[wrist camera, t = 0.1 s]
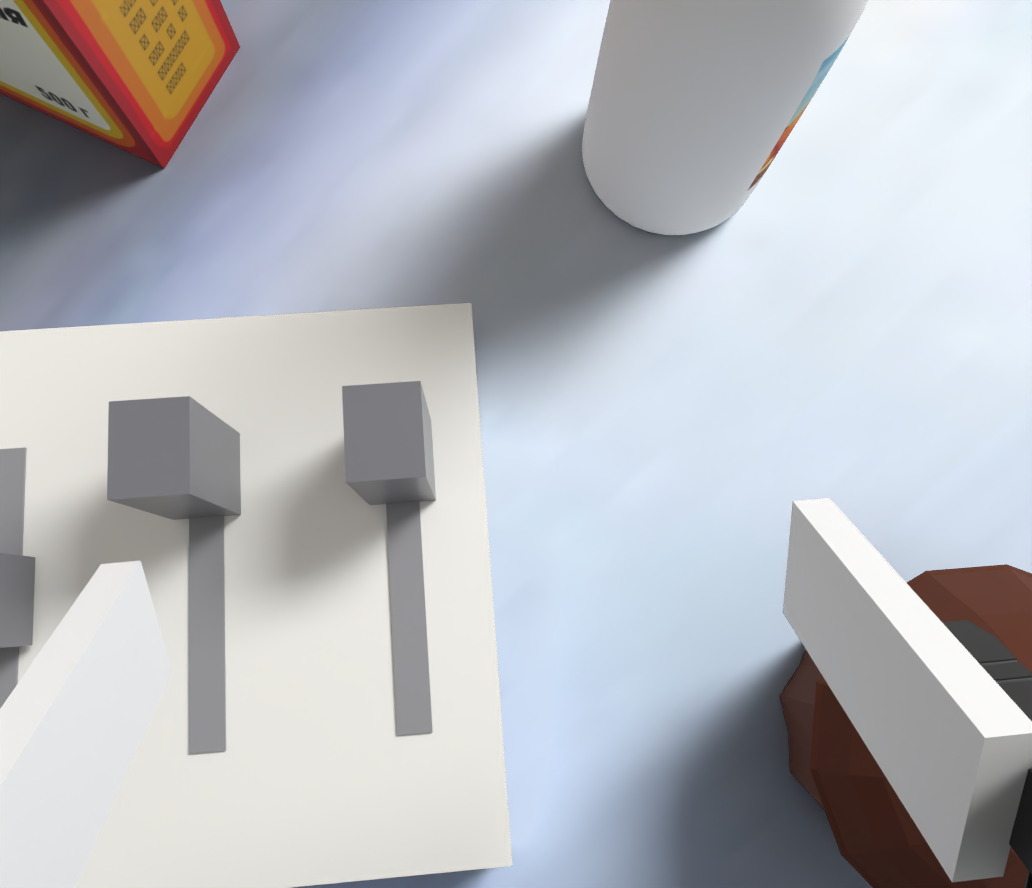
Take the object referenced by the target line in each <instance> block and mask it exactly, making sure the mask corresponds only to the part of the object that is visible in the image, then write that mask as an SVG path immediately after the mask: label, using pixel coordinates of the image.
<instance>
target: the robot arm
mask: <svg viewBox="0 0 1032 888" xmlns="http://www.w3.org/2000/svg"><path fill="white" fill-rule="evenodd" d="M783 613H784V615H785V617H786V618H787V620H788V621H789V623H790V625H791V626H792V628H793V629H794V631H795V633H796V634H797V636H798V637H799V639H800V641H801V642H802V644H803V645H804V647H805V649H806V650H807V652H808V653H809V655H810V657H811V658H812V660H813V661H814V663H815V665H816V666H817V668H818V669H819V671H820V672H821V674H822V676H823V677H824V679H825V680H826V682H827V684H828V685H829V687H830V688H831V690H832V692H833V693H834V695H835V696H836V698H837V700H838V701H839V703H840V704H841V706H842V708H843V709H844V711H845V712H846V714H847V716H848V717H849V719H850V720H851V722H852V724H853V725H854V727H855V728H856V730H857V732H858V733H859V735H860V736H861V738H862V739H863V741H864V743H865V744H866V746H867V747H868V749H869V751H870V752H871V754H872V755H873V757H874V759H875V760H876V762H877V763H878V765H879V767H880V768H881V770H882V771H883V773H884V775H885V776H886V778H887V779H888V781H889V783H890V784H891V786H892V787H893V789H894V791H895V792H896V794H897V795H898V797H899V799H900V800H901V802H902V803H903V805H904V807H905V808H906V810H907V811H908V813H909V814H910V816H911V818H912V819H913V821H914V822H915V824H916V826H917V827H918V829H919V830H920V832H921V834H922V835H923V837H924V838H925V840H926V842H927V843H928V845H929V846H930V848H931V850H932V851H933V853H934V854H935V856H936V858H937V859H938V861H939V862H940V864H941V866H942V867H943V869H944V870H945V872H946V874H947V875H948V877H949V878H950V880H951V881H952V882H960V881H969V880H977V879H986V878H995V877H1003V875H1004V871H1005V867H1006V863H1007V859H1008V856H1009V852H1010V848H1011V847H1012V849H1013V850H1014V851H1015V853H1016V854H1017V856H1018V857H1019V858H1020V860H1021V861H1022V862H1023V864H1024V865H1025V866H1026V868H1027V869H1028V871H1029V872H1028V875H1027V879H1026V883H1025V886H1024V888H1032V673H1031V672H1030V671H1029V670H1028V669H1027V668H1026V667H1025V666H1024V665H1023V664H1022V663H1018V662H1017V658H1016V657H1015V656H1014V655H1013V654H1012V653H1011V652H1010V651H1009V650H1008V649H1007V648H1006V647H1005V646H1004V645H1003V644H1002V643H1001V642H1000V641H999V640H998V639H997V638H996V637H995V636H993V635H991V634H990V633H988V632H986V631H985V630H983V629H981V628H979V627H978V626H976V625H974V624H973V623H971V622H969V621H968V620H961V621H951V622H941V621H940V620H939V618H938V617H937V616H936V615H935V614H934V613H933V612H932V611H931V610H930V609H929V607H928V606H927V605H926V604H925V603H924V602H923V601H922V600H921V599H920V597H919V596H918V595H917V594H916V593H915V592H914V591H913V590H912V589H911V588H910V586H909V585H908V584H907V583H906V582H905V581H904V580H903V579H902V578H901V576H900V575H899V574H898V573H897V572H896V571H895V570H894V569H893V568H892V567H891V565H890V564H889V563H888V562H887V561H886V560H885V559H884V558H883V557H882V555H881V554H880V553H879V552H878V551H877V550H876V549H875V548H874V547H873V546H872V544H871V543H870V542H869V541H868V540H867V539H866V538H865V537H864V536H863V534H862V533H861V532H860V531H859V530H858V529H857V528H856V527H855V526H854V525H853V523H852V522H851V521H850V520H849V519H848V518H847V517H846V516H845V515H844V513H843V512H842V511H841V510H840V509H839V508H838V507H837V506H836V505H835V504H834V502H833V501H832V500H831V499H830V498H822V499H811V500H800V501H793V504H792V516H791V527H790V538H789V549H788V560H787V571H786V582H785V594H784V605H783ZM172 672H173V671H172V668H171V664H170V661H169V657H168V654H167V650H166V647H165V643H164V640H163V637H162V633H161V630H160V626H159V623H158V619H157V616H156V612H155V609H154V605H153V602H152V598H151V595H150V591H149V588H148V584H147V581H146V577H145V574H144V571H143V567H142V564H141V561H130V562H119V563H108V564H101V565H100V566H99V568H98V569H97V571H96V572H95V574H94V575H93V576H92V578H91V579H90V581H89V582H88V584H87V585H86V586H85V588H84V589H83V591H82V592H81V594H80V595H79V596H78V598H77V599H76V601H75V602H74V604H73V605H72V607H71V608H70V609H69V611H68V612H67V614H66V615H65V617H64V618H63V619H62V621H61V622H60V624H59V625H58V627H57V628H56V629H55V631H54V632H53V634H52V635H51V637H50V638H49V640H48V641H47V642H46V644H45V645H44V647H43V648H42V650H41V651H40V652H39V654H38V655H37V657H36V658H35V660H34V661H33V663H32V664H31V665H30V667H29V668H28V670H27V671H26V673H25V674H24V675H23V677H22V678H21V680H20V681H19V683H18V684H17V685H16V687H15V688H14V690H13V691H12V693H11V694H10V696H9V697H8V698H7V700H6V701H5V703H4V704H3V706H2V707H1V708H0V888H75V887H76V885H77V882H78V880H79V878H80V876H81V874H82V871H83V869H84V867H85V865H86V863H87V860H88V858H89V856H90V854H91V851H92V849H93V847H94V845H95V843H96V840H97V838H98V836H99V834H100V832H101V829H102V827H103V825H104V823H105V821H106V818H107V816H108V814H109V812H110V809H111V807H112V805H113V803H114V801H115V798H116V796H117V794H118V792H119V790H120V787H121V785H122V783H123V781H124V778H125V776H126V774H127V772H128V770H129V767H130V765H131V763H132V761H133V759H134V756H135V754H136V752H137V750H138V748H139V745H140V743H141V741H142V739H143V736H144V734H145V732H146V730H147V728H148V725H149V723H150V721H151V719H152V717H153V714H154V712H155V710H156V708H157V705H158V703H159V701H160V699H161V697H162V694H163V692H164V690H165V688H166V686H167V683H168V681H169V679H170V677H171V675H172Z"/></svg>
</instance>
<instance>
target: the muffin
mask: <svg viewBox="0 0 1032 888" xmlns="http://www.w3.org/2000/svg"><path fill="white" fill-rule="evenodd" d="M907 584H908V585H909V586H910V588H911V589H912V590H913V591H914V592H915V593H916V594H917V595H918V596H919V597H920V599H921V600H922V601H923V602H924V603H925V604H926V605H927V606H928V607H929V609H930V610H931V611H932V612H933V613H934V614H935V615H936V616H937V617H938V618H939V620H940V621H941V622H951V621H961V620H968V621H969V622H971V623H973V624H974V625H976V626H978V627H979V628H981V629H983V630H985V631H986V632H988V633H990V634H991V635H993V636H995V637H996V638H997V639H998V640H999V641H1000V642H1001V643H1002V644H1003V645H1004V646H1005V647H1006V648H1007V649H1008V650H1009V651H1010V652H1011V653H1012V654H1013V655H1014V656H1015V657H1016V658H1017V662H1018V663H1022V664H1023V665H1024V666H1025V667H1026V668H1027V669H1028V670H1029V671H1030V672H1031V673H1032V574H1031V573H1028V572H1026V571H1023V570H1020V569H1017V568H1015V567H1012V566H1009V565H995V566H983V567H970V568H958V569H945V570H932V571H925V572H924V573H922V574H920V575H919V576H917V577H915V578H914V579H912V580H911V581H909V582H907ZM780 699H781V704H782V708H783V713H784V717H785V721H786V726H787V730H788V741H789V762H790V772H791V773H792V774H793V776H794V777H795V778H796V779H797V780H798V781H799V782H800V783H801V784H802V786H803V787H804V788H805V789H806V790H807V791H808V792H809V793H810V794H811V795H812V797H813V798H814V799H815V800H816V801H817V802H818V803H819V804H820V805H821V806H822V808H823V809H824V810H825V812H826V815H827V817H828V820H829V823H830V825H831V828H832V831H833V834H834V836H835V839H836V842H837V844H838V847H839V850H840V853H841V855H842V856H843V857H844V858H845V859H846V860H847V861H848V862H849V863H850V864H851V865H852V866H853V867H854V868H855V869H856V870H857V871H858V873H859V874H860V875H861V876H862V877H863V878H864V879H865V880H866V881H867V882H868V883H869V884H870V885H871V886H872V887H873V888H1024V886H1025V883H1026V879H1027V875H1028V872H1029V871H1028V869H1027V868H1026V866H1025V865H1024V864H1023V862H1022V861H1021V860H1020V858H1019V857H1018V856H1017V854H1016V853H1015V851H1014V850H1013V849H1012V847H1011V848H1010V852H1009V856H1008V859H1007V863H1006V867H1005V871H1004V875H1003V877H995V878H986V879H977V880H969V881H960V882H952V881H951V880H950V878H949V877H948V875H947V874H946V872H945V870H944V869H943V867H942V866H941V864H940V862H939V861H938V859H937V858H936V856H935V854H934V853H933V851H932V850H931V848H930V846H929V845H928V843H927V842H926V840H925V838H924V837H923V835H922V834H921V832H920V830H919V829H918V827H917V826H916V824H915V822H914V821H913V819H912V818H911V816H910V814H909V813H908V811H907V810H906V808H905V807H904V805H903V803H902V802H901V800H900V799H899V797H898V795H897V794H896V792H895V791H894V789H893V787H892V786H891V784H890V783H889V781H888V779H887V778H886V776H885V775H884V773H883V771H882V770H881V768H880V767H879V765H878V763H877V762H876V760H875V759H874V757H873V755H872V754H871V752H870V751H869V749H868V747H867V746H866V744H865V743H864V741H863V739H862V738H861V736H860V735H859V733H858V732H857V730H856V728H855V727H854V725H853V724H852V722H851V720H850V719H849V717H848V716H847V714H846V712H845V711H844V709H843V708H842V706H841V704H840V703H839V701H838V700H837V698H836V696H835V695H834V693H833V692H832V690H831V688H830V687H829V685H828V684H827V682H826V680H825V679H824V677H823V676H822V674H821V672H820V671H819V669H818V668H817V666H816V665H815V663H814V661H813V660H812V658H811V657H810V655H809V653H808V652H807V650H805V652H804V655H803V657H802V659H801V662H800V664H799V666H798V668H797V669H796V671H795V673H794V674H793V676H792V677H791V679H790V680H789V682H788V683H787V685H786V686H785V688H784V689H783V691H782V693H781V694H780Z"/></svg>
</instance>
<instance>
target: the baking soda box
mask: <svg viewBox="0 0 1032 888" xmlns="http://www.w3.org/2000/svg"><path fill="white" fill-rule="evenodd" d="M239 48H240V46H239V43H238V41H237V39H236V36H235V34H234V32H233V29H232V27H231V25H230V23H229V20H228V18H227V16H226V13H225V11H224V9H223V6H222V4H221V2H220V0H0V93H1V94H4V95H6V96H8V97H10V98H12V99H14V100H17V101H19V102H21V103H23V104H25V105H27V106H30V107H32V108H34V109H36V110H38V111H40V112H43V113H45V114H47V115H49V116H51V117H53V118H56V119H58V120H60V121H62V122H64V123H66V124H69V125H71V126H73V127H75V128H77V129H79V130H82V131H84V132H86V133H88V134H90V135H92V136H95V137H97V138H99V139H101V140H103V141H105V142H108V143H110V144H112V145H114V146H116V147H118V148H121V149H123V150H125V151H127V152H129V153H131V154H134V155H136V156H138V157H140V158H142V159H144V160H147V161H149V162H151V163H153V164H155V165H157V166H160V167H162V168H164V169H165V167H166V165H167V164H168V162H169V160H170V159H171V157H172V156H173V154H174V152H175V151H176V149H177V148H178V146H179V144H180V143H181V141H182V140H183V138H184V136H185V135H186V133H187V132H188V130H189V128H190V127H191V125H192V124H193V122H194V120H195V119H196V117H197V115H198V114H199V112H200V111H201V109H202V107H203V106H204V104H205V103H206V101H207V99H208V98H209V96H210V95H211V93H212V91H213V90H214V88H215V87H216V85H217V83H218V82H219V80H220V79H221V77H222V75H223V74H224V72H225V70H226V69H227V67H228V66H229V64H230V62H231V61H232V59H233V58H234V56H235V54H236V53H237V51H238V50H239Z"/></svg>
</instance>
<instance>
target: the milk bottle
mask: <svg viewBox="0 0 1032 888" xmlns="http://www.w3.org/2000/svg"><path fill="white" fill-rule="evenodd" d="M867 1H868V0H611V1H610V5H609V10H608V15H607V19H606V24H605V28H604V33H603V37H602V42H601V47H600V52H599V57H598V61H597V66H596V71H595V76H594V81H593V86H592V90H591V95H590V100H589V105H588V110H587V115H586V120H585V126H584V133H583V141H582V157H583V163H584V168H585V171H586V174H587V177H588V179H589V182H590V184H591V186H592V187H593V189H594V191H595V193H596V194H597V195H598V197H599V198H600V199H601V201H602V202H603V203H604V204H605V206H606V207H607V208H608V209H610V210H611V211H612V212H613V213H614V214H615V215H616V216H617V217H619V218H620V219H622V220H624V221H625V222H627V223H629V224H630V225H632V226H633V227H636V228H639V229H642V230H645V231H647V232H650V233H657V234H662V235H686V234H692V233H697V232H701V231H704V230H707V229H710V228H712V227H715V226H717V225H719V224H720V223H722V222H724V221H725V220H727V219H728V218H730V217H731V216H732V215H733V214H734V213H736V212H737V211H738V210H739V209H740V207H741V206H742V205H743V204H744V203H745V201H746V200H747V199H748V197H749V196H750V194H751V193H752V192H753V190H754V189H755V187H756V186H757V184H758V183H759V181H760V180H761V178H762V177H763V175H764V173H765V172H766V170H767V169H768V167H769V166H770V164H771V163H772V161H773V159H774V158H775V156H776V155H777V153H778V151H779V150H780V148H781V147H782V145H783V144H784V142H785V140H786V139H787V137H788V136H789V134H790V133H791V131H792V129H793V128H794V126H795V125H796V123H797V121H798V120H799V118H800V117H801V115H802V114H803V112H804V110H805V109H806V107H807V105H808V104H809V102H810V101H811V99H812V97H813V96H814V94H815V92H816V91H817V89H818V88H819V86H820V84H821V83H822V81H823V79H824V78H825V76H826V75H827V73H828V71H829V70H830V68H831V67H832V65H833V63H834V62H835V60H836V58H837V57H838V55H839V53H840V51H841V50H842V48H843V46H844V44H845V42H846V41H847V39H848V37H849V35H850V34H851V32H852V30H853V28H854V26H855V25H856V23H857V21H858V19H859V18H860V16H861V14H862V12H863V10H864V8H865V6H866V4H867Z"/></svg>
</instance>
